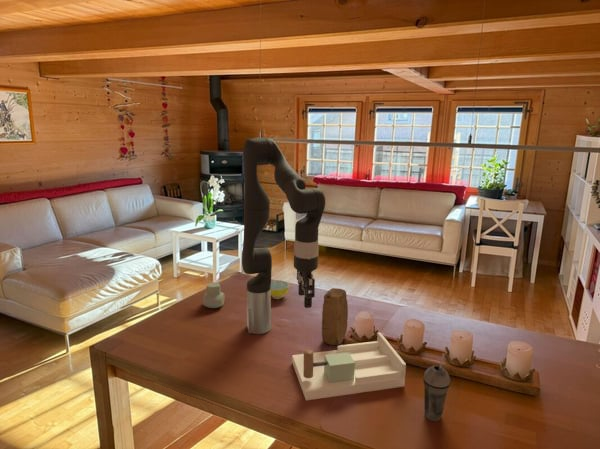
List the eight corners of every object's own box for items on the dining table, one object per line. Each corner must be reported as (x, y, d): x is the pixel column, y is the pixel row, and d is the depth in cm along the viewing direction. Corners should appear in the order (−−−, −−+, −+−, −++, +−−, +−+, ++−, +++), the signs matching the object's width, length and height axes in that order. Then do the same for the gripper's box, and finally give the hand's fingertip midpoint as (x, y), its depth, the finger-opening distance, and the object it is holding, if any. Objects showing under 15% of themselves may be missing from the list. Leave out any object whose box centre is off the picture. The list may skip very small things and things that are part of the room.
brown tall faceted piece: (337, 348, 154) (339, 298, 149) (319, 343, 157) (320, 293, 152) (349, 335, 163) (351, 287, 158) (331, 330, 167) (333, 283, 161)
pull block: (305, 386, 128) (306, 358, 125) (301, 374, 133) (301, 347, 131) (354, 379, 131) (355, 352, 129) (347, 368, 137) (348, 342, 134)
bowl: (292, 294, 200) (292, 281, 198) (284, 304, 190) (284, 291, 188) (270, 290, 204) (270, 278, 202) (261, 300, 193) (260, 287, 192)
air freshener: (221, 311, 182) (220, 289, 180) (202, 310, 182) (201, 289, 180) (225, 300, 193) (225, 280, 190) (207, 300, 193) (206, 279, 190)
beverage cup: (416, 407, 123) (421, 346, 118) (440, 406, 124) (446, 345, 119) (425, 425, 116) (431, 361, 111) (450, 424, 117) (458, 360, 112)
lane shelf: (305, 400, 126) (306, 377, 124) (292, 362, 145) (292, 342, 143) (404, 386, 133) (406, 364, 131) (379, 352, 152) (380, 332, 150)
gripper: (289, 246, 135) (288, 292, 139) (299, 262, 121) (297, 312, 126) (312, 244, 136) (310, 290, 141) (324, 260, 123) (322, 310, 128)
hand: (304, 300), depth 133 cm, fingers open, 8 cm apart
